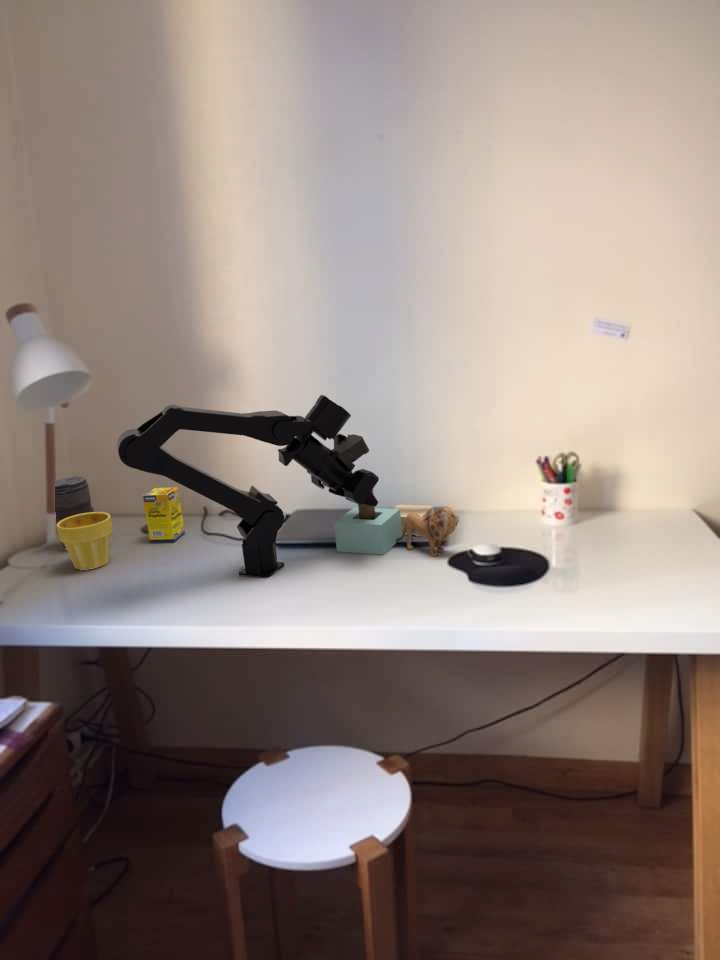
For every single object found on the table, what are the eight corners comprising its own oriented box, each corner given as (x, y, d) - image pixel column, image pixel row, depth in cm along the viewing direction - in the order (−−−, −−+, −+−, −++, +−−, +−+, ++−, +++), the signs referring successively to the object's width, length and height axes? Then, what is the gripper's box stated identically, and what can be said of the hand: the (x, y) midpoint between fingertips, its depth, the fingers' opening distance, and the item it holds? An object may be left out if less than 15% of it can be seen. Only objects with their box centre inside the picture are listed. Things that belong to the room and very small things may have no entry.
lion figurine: (465, 551, 140) (462, 505, 137) (449, 560, 136) (446, 513, 133) (403, 539, 149) (400, 496, 147) (387, 547, 145) (383, 503, 143)
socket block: (383, 554, 142) (381, 524, 140) (336, 551, 146) (333, 522, 144) (402, 537, 150) (399, 508, 149) (357, 534, 154) (354, 507, 153)
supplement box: (175, 542, 160) (167, 494, 158) (149, 543, 162) (141, 495, 159) (186, 533, 166) (178, 486, 163) (161, 534, 167) (153, 487, 164)
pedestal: (422, 536, 150) (421, 517, 149) (385, 534, 153) (384, 516, 152) (434, 523, 157) (433, 505, 156) (399, 522, 160) (398, 504, 159)
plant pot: (106, 572, 146) (97, 525, 143) (56, 576, 147) (46, 529, 144) (126, 554, 156) (118, 509, 153) (78, 557, 157) (70, 513, 154)
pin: (371, 523, 145) (368, 483, 143) (357, 522, 146) (353, 483, 144) (378, 518, 147) (374, 479, 145) (363, 517, 149) (360, 478, 147)
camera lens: (64, 543, 167) (51, 479, 164) (101, 537, 169) (89, 474, 165) (57, 554, 160) (43, 488, 156) (96, 549, 161) (83, 482, 157)
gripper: (365, 429, 132) (420, 477, 140) (319, 418, 148) (371, 461, 156) (330, 481, 130) (388, 526, 138) (287, 464, 146) (341, 505, 154)
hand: (372, 502), depth 147 cm, fingers closed on pin, 3 cm apart
